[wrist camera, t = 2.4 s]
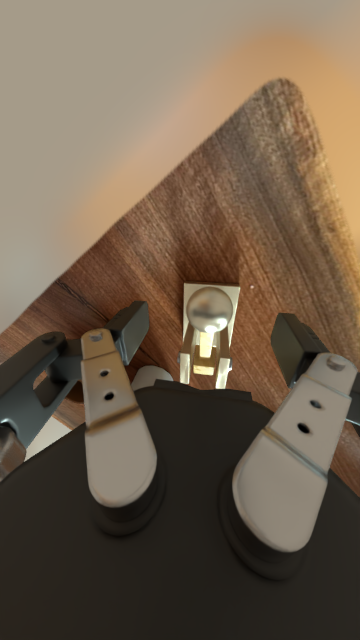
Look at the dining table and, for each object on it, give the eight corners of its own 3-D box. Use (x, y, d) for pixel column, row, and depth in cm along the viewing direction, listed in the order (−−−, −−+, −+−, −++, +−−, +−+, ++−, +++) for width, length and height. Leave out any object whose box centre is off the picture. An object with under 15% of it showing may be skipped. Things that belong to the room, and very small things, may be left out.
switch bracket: (185, 280, 29) (164, 323, 18) (239, 284, 27) (253, 332, 17) (183, 339, 34) (167, 399, 23) (229, 344, 33) (234, 410, 22)
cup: (179, 389, 41) (169, 436, 33) (148, 395, 44) (132, 440, 36) (161, 361, 38) (144, 405, 29) (129, 370, 41) (105, 412, 32)
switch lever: (188, 275, 13) (181, 314, 11) (237, 278, 12) (237, 319, 11) (192, 350, 24) (189, 375, 22) (218, 353, 23) (216, 379, 22)
